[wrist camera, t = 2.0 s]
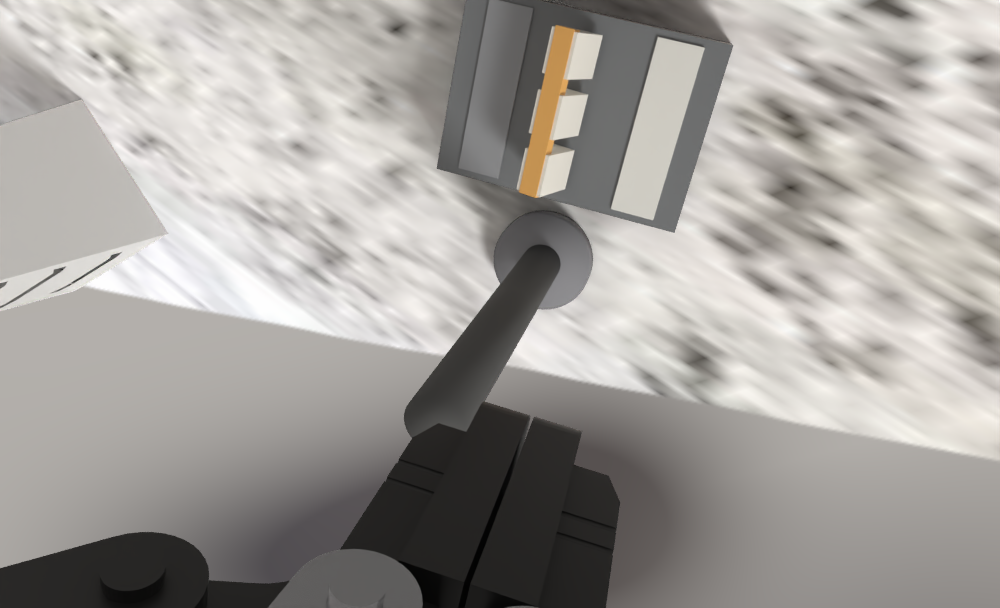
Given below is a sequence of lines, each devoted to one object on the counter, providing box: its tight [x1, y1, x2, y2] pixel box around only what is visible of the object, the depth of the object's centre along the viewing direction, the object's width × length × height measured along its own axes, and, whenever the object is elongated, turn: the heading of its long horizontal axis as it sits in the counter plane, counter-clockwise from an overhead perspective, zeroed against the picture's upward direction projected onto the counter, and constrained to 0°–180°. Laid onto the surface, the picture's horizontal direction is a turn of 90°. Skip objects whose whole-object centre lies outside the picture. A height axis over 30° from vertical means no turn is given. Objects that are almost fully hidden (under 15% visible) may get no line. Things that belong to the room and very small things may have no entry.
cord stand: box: [404, 211, 593, 438], centre depth 37 cm, size 6×6×21 cm
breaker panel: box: [437, 0, 733, 233], centre depth 42 cm, size 14×10×3 cm
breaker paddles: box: [517, 25, 603, 198], centre depth 39 cm, size 1×8×3 cm, turn 169°
